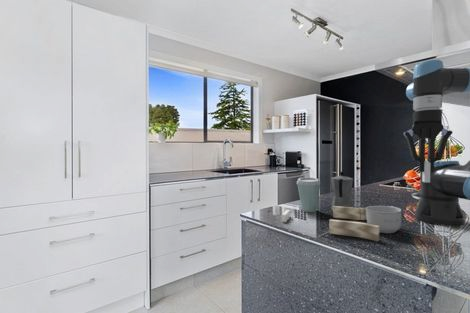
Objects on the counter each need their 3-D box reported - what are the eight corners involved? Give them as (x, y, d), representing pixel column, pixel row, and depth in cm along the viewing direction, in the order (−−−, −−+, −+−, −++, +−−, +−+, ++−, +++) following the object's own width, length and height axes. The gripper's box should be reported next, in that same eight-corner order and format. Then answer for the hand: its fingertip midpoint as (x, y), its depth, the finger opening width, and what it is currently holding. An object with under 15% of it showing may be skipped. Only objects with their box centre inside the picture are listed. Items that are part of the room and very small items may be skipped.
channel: (372, 218, 102) (372, 207, 102) (379, 241, 78) (379, 227, 78) (333, 215, 108) (333, 204, 108) (328, 235, 84) (328, 222, 84)
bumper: (290, 216, 107) (290, 209, 107) (285, 222, 100) (285, 214, 99) (286, 216, 108) (286, 209, 107) (281, 221, 100) (281, 214, 100)
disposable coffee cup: (325, 212, 112) (325, 179, 112) (303, 214, 110) (303, 180, 109) (313, 207, 123) (312, 176, 122) (292, 208, 120) (292, 177, 120)
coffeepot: (332, 206, 123) (332, 170, 122) (353, 208, 119) (353, 170, 118) (328, 214, 109) (328, 173, 109) (352, 217, 105) (352, 174, 104)
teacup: (387, 238, 81) (387, 213, 81) (358, 228, 91) (358, 206, 91) (414, 231, 87) (414, 208, 86) (384, 222, 96) (384, 202, 96)
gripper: (405, 110, 81) (404, 182, 82) (457, 107, 76) (455, 184, 77) (401, 112, 88) (400, 179, 89) (448, 110, 83) (446, 181, 84)
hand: (426, 181), depth 83 cm, fingers closed
